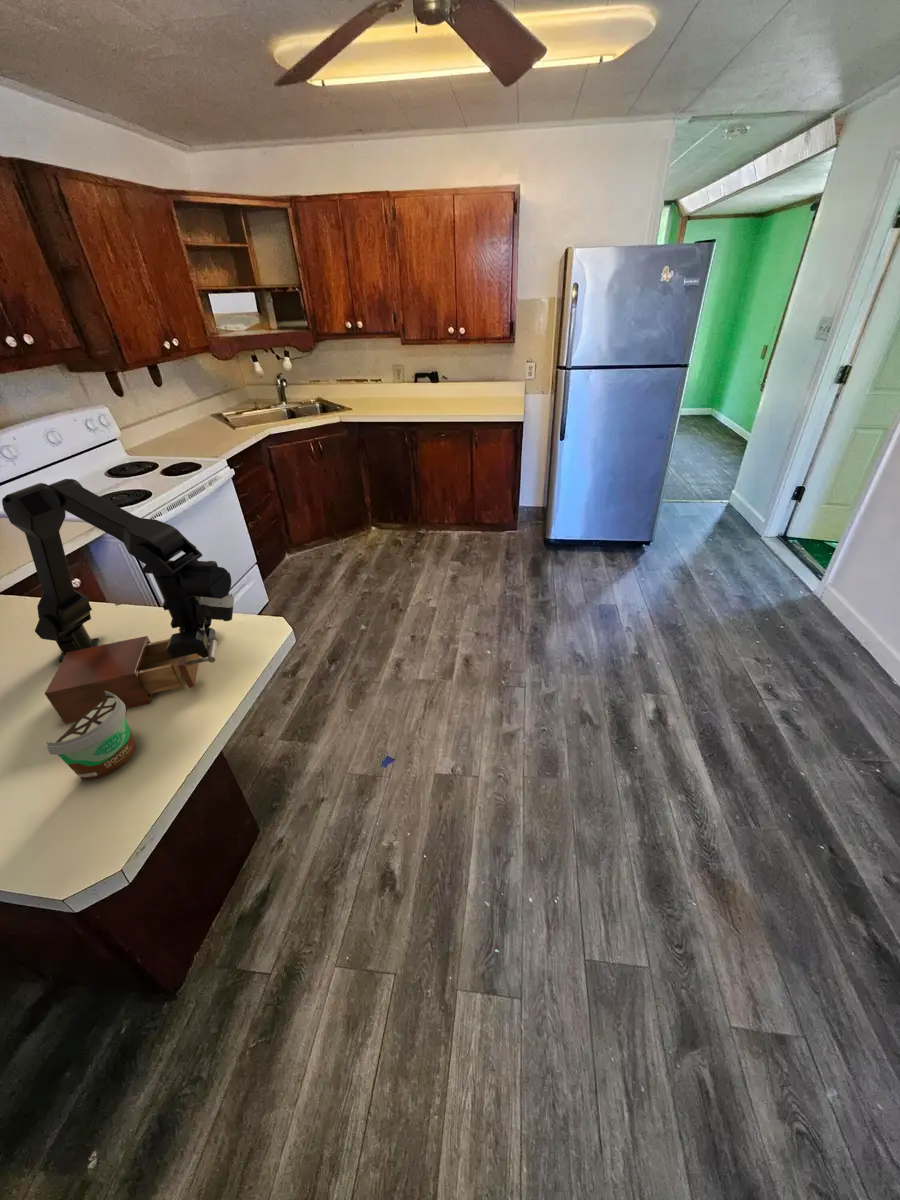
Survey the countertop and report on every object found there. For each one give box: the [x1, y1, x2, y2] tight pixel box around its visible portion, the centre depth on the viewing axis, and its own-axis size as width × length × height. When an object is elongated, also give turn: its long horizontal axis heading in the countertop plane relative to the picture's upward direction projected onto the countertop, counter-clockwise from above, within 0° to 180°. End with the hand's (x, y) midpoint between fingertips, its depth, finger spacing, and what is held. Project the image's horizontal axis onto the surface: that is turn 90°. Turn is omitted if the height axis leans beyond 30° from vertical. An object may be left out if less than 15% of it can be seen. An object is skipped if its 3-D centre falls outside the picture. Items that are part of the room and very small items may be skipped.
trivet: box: [207, 627, 219, 650], centre depth 109 cm, size 7×7×2 cm
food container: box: [46, 691, 137, 781], centre depth 80 cm, size 12×6×10 cm, turn 168°
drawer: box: [137, 638, 218, 694], centre depth 98 cm, size 18×11×6 cm, turn 109°
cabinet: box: [44, 635, 154, 724], centre depth 95 cm, size 15×13×8 cm
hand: (205, 656), depth 99 cm, fingers closed, pressing on drawer
